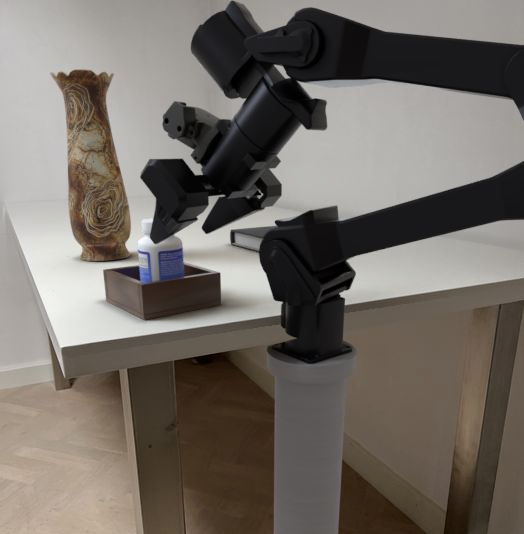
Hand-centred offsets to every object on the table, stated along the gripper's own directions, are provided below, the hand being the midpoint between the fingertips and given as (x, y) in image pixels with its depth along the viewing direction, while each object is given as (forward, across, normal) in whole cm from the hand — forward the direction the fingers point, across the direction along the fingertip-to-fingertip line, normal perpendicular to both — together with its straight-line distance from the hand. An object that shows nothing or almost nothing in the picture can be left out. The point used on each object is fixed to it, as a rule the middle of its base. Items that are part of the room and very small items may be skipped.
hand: (180, 235), depth 65 cm
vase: (+30, -18, -18) cm, 40 cm away
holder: (+9, 0, +4) cm, 9 cm away
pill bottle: (+8, 0, +4) cm, 9 cm away
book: (+15, -48, -2) cm, 51 cm away
